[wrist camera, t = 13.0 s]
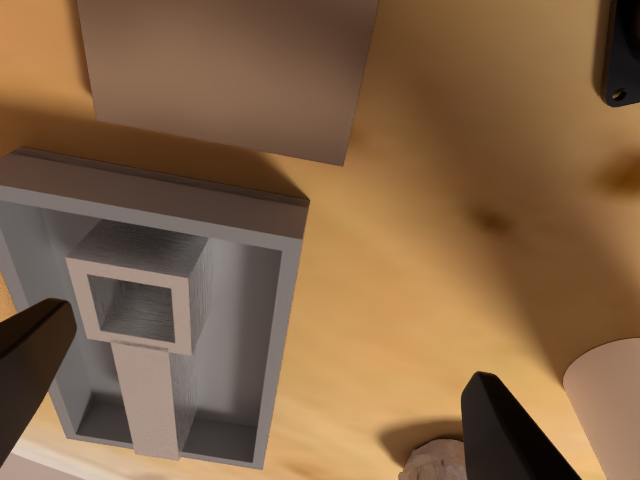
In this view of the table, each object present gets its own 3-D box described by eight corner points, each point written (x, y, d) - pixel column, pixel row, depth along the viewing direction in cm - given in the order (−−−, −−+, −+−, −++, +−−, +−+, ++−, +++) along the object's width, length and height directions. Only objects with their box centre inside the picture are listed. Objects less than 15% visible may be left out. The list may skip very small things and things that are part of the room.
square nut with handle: (213, 409, 31) (196, 463, 28) (143, 398, 31) (117, 451, 28) (214, 228, 21) (188, 278, 18) (110, 209, 21) (65, 257, 18)
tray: (270, 425, 33) (262, 470, 30) (92, 396, 33) (66, 438, 30) (310, 200, 21) (302, 239, 18) (20, 146, 20) (-36, 178, 17)
